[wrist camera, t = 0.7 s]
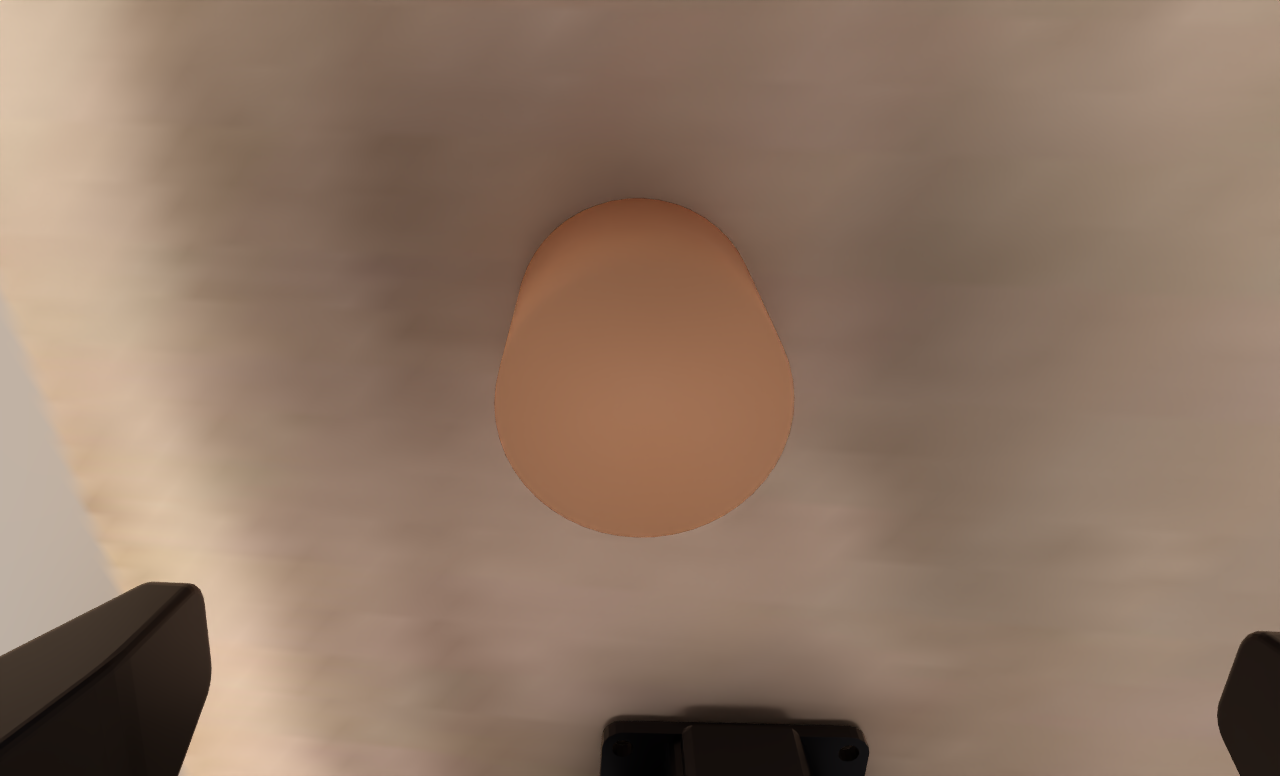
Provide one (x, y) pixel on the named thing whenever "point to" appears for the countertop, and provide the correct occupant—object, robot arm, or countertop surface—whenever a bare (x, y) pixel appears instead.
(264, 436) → the countertop surface
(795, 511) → the countertop surface
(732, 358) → the tan cylinder
